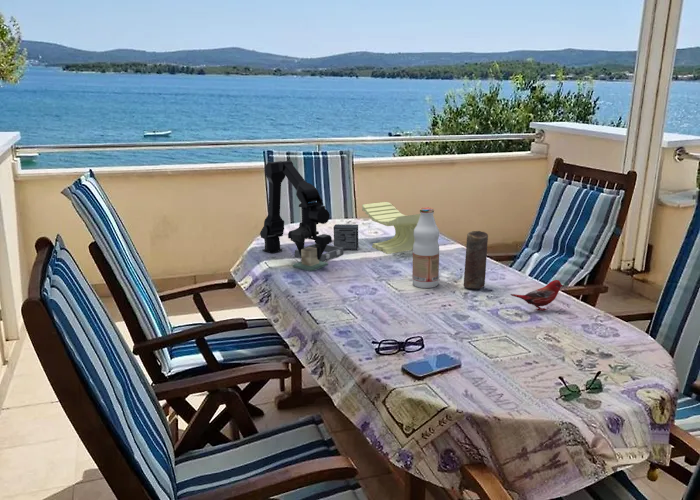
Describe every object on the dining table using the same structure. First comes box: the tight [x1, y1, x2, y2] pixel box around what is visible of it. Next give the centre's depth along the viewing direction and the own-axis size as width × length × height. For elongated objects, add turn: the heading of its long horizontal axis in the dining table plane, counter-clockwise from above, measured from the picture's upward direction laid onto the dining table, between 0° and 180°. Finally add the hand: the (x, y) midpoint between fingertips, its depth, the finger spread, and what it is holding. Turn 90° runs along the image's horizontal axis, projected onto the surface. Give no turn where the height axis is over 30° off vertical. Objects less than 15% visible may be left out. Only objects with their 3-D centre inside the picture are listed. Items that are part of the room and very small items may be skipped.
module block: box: [300, 247, 319, 266], centre depth 243 cm, size 5×5×6 cm
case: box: [294, 242, 344, 262], centre depth 258 cm, size 15×15×3 cm
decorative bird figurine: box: [510, 279, 564, 312], centre depth 192 cm, size 3×18×10 cm, turn 99°
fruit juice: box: [411, 206, 440, 289], centre depth 216 cm, size 9×9×28 cm
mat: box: [292, 261, 329, 272], centre depth 244 cm, size 10×10×1 cm
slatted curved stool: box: [361, 201, 421, 255], centre depth 266 cm, size 30×16×18 cm, turn 28°
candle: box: [463, 230, 489, 290], centre depth 213 cm, size 8×7×20 cm
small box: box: [333, 223, 359, 251], centre depth 268 cm, size 11×6×10 cm, turn 84°
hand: (310, 257), depth 243 cm, fingers open, 9 cm apart
